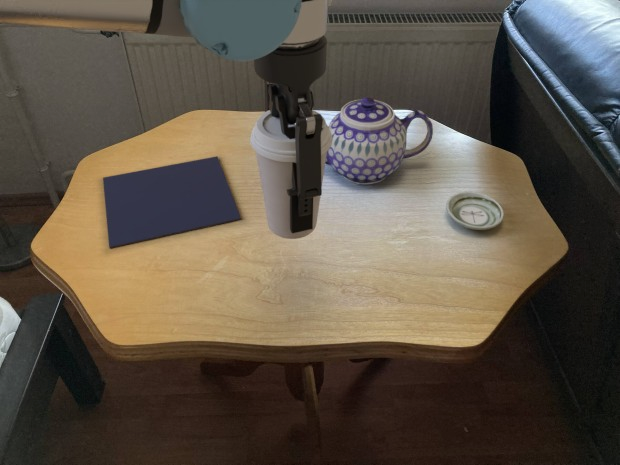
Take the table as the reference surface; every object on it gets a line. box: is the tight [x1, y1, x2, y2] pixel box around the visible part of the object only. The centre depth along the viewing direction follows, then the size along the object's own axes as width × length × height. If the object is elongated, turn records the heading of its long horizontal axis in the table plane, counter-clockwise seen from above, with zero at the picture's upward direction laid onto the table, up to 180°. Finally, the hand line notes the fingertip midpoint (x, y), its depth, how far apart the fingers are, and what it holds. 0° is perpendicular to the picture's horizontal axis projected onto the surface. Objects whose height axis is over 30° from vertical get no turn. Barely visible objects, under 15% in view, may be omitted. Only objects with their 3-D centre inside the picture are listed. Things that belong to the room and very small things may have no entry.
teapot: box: [325, 96, 434, 185], centre depth 95 cm, size 25×15×15 cm, turn 90°
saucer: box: [445, 191, 505, 231], centre depth 88 cm, size 10×10×2 cm
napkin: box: [102, 155, 242, 249], centre depth 93 cm, size 22×20×1 cm
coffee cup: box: [249, 109, 332, 240], centre depth 63 cm, size 10×10×15 cm
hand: (291, 210), depth 67 cm, fingers closed on coffee cup, 7 cm apart
